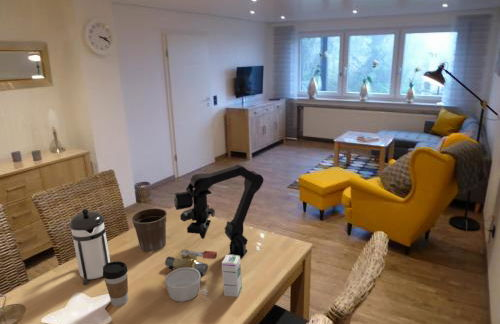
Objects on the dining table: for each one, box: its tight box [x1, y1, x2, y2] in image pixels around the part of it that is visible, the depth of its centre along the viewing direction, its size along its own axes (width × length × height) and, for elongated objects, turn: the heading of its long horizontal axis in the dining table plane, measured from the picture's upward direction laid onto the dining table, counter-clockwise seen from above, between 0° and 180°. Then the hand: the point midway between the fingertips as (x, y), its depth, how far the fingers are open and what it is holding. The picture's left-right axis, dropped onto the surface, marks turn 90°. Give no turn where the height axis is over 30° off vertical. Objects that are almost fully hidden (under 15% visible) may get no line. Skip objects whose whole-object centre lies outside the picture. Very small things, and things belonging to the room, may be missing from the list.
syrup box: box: [221, 254, 243, 298], centre depth 132 cm, size 6×6×14 cm
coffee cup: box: [102, 260, 129, 307], centre depth 128 cm, size 8×8×15 cm
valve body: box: [164, 251, 209, 277], centre depth 147 cm, size 18×6×7 cm, turn 70°
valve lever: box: [180, 248, 218, 260], centre depth 145 cm, size 15×3×2 cm, turn 80°
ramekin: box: [164, 268, 202, 302], centre depth 133 cm, size 13×13×7 cm
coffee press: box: [68, 208, 111, 286], centre depth 143 cm, size 17×16×30 cm
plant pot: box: [130, 207, 168, 253], centre depth 166 cm, size 16×16×16 cm
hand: (202, 238), depth 150 cm, fingers closed
